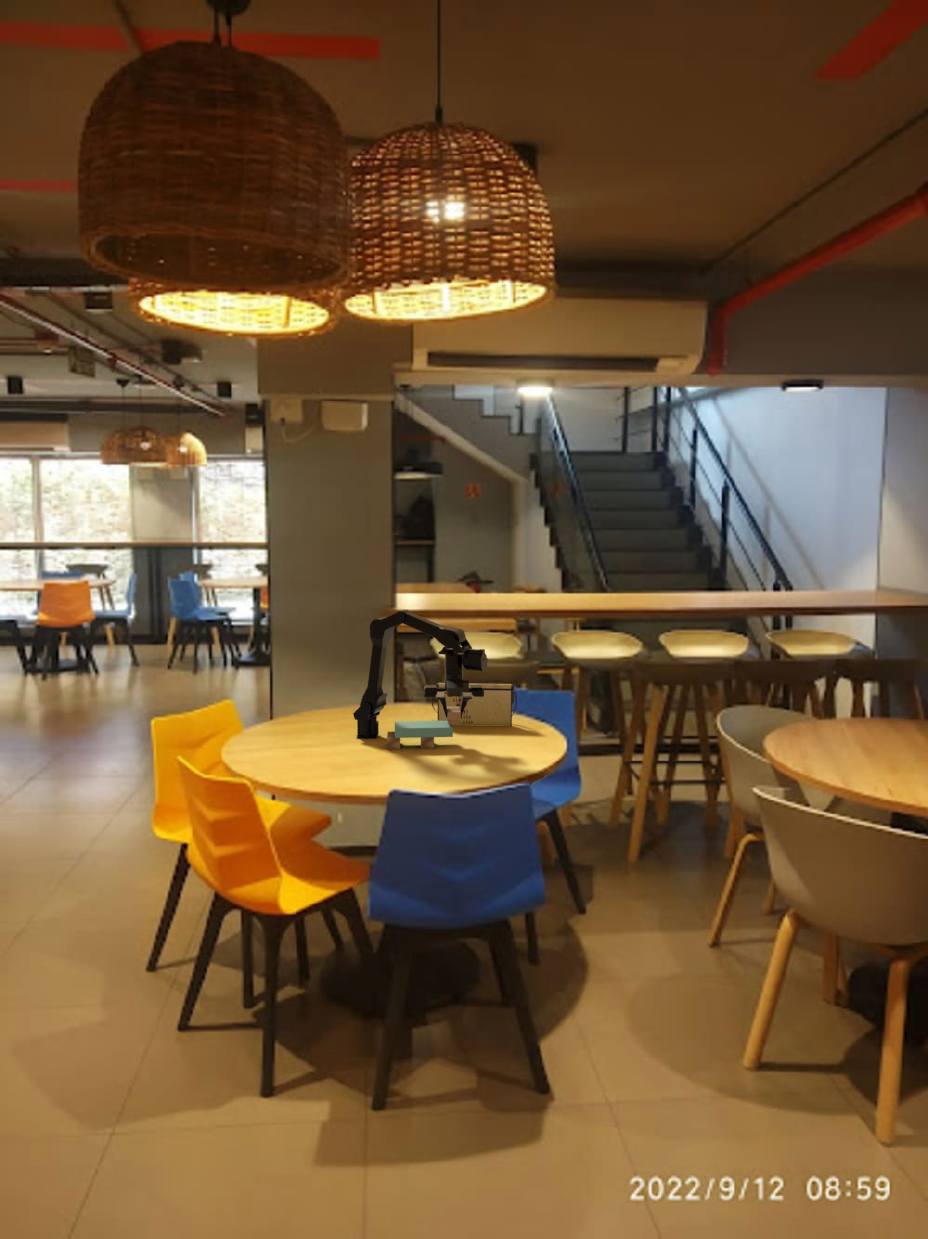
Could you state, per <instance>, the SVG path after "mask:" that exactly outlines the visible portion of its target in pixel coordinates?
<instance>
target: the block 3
mask: <svg viewBox="0 0 928 1239" xmlns="http://www.w3.org/2000/svg"><path fill="white" fill-rule="evenodd" d="M447 722H448V724H461V711H460V707H459V706H452V707H447Z"/></svg>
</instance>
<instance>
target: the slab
mask: <svg viewBox="0 0 928 1239" xmlns="http://www.w3.org/2000/svg"><path fill="white" fill-rule="evenodd" d="M453 726H454V725H452V724H448V722H447V721H438V720H413V721H412V720H407V721H406V720H404V721H401V720H400V721H394V731H395V738H400V739H403V738H405V739H406V738H407V739H408V738H409V739H410V738H412V739H413V738H416V739H417V738H421V737H434V738H453V737H454V735H453V734H454V728H453Z"/></svg>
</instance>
